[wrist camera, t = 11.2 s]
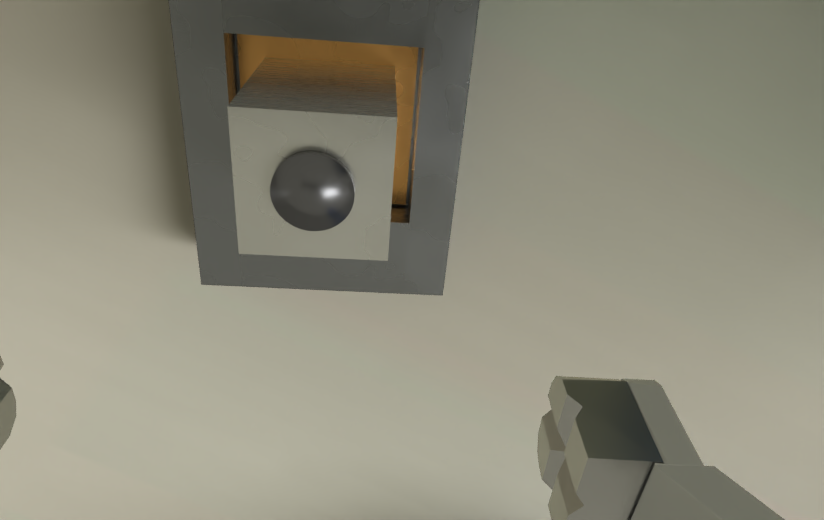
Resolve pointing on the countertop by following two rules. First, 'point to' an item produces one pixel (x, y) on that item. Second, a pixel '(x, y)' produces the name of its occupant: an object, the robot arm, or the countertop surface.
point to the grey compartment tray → (337, 42)
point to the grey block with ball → (314, 159)
